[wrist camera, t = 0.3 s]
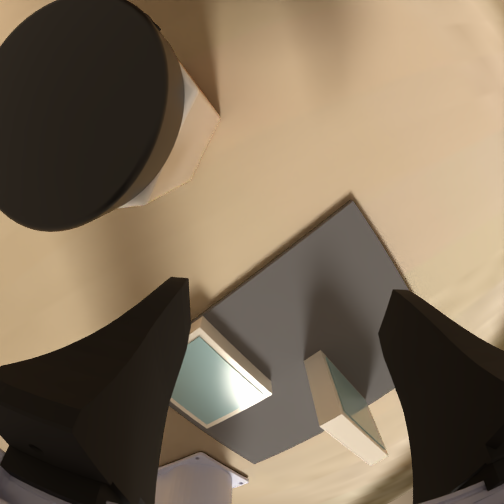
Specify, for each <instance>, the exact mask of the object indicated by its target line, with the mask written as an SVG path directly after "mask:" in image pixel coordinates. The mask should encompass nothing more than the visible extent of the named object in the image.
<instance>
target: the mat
mask: <svg viewBox="0 0 504 504" xmlns="http://www.w3.org/2000/svg"><path fill="white" fill-rule="evenodd" d="M393 289H399V290H408V291H409V289H408V288H407V286H406V284H405V282H404V281H403V279H402V277H401V275H400V274H399V272H398V270H397V269H396V267H395V265H394V264H393V262H392V260H391V259H390V257H389V255H388V254H387V252H386V250H385V249H384V247H383V246H382V244H381V242H380V241H379V239H378V238H377V236H376V235H375V233H374V231H373V230H372V228H371V227H370V225H369V224H368V222H367V221H366V219H365V218H364V216H363V215H362V213H361V212H360V210H359V209H358V207H357V206H356V204H355V203H354V201H352V200H350V201H349V202H348V203H346V204H345V205H344V206H342V207H341V208H340V209H339V210H337V211H336V212H335V213H333V214H332V215H331V216H330V217H328V218H327V219H326V220H324V221H323V222H322V223H321V224H319V225H318V226H317V227H315V228H314V229H313V230H312V231H310V232H309V233H308V234H306V235H305V236H304V237H303V238H301V239H300V240H299V241H297V242H296V243H295V244H293V245H292V246H291V247H290V248H288V249H287V250H286V251H284V252H283V253H282V254H280V255H279V256H278V257H276V258H275V259H274V260H273V261H271V262H270V263H269V264H267V265H266V266H265V267H263V268H262V269H261V270H259V271H258V272H257V273H255V274H254V275H253V276H251V277H250V278H249V279H248V280H246V281H245V282H244V283H242V284H241V285H240V286H238V287H237V288H236V289H234V290H233V291H232V292H230V293H229V294H228V295H226V296H225V297H224V298H222V299H221V300H220V301H218V302H217V303H216V304H214V305H213V306H212V307H210V308H209V309H208V310H206V311H205V312H203V313H202V314H201V315H199V316H198V317H197V318H195V319H194V320H193V321H191V324H192V323H194V322H195V321H196V320H198V319H199V318H200V317H202V316H204V317H205V318H206V320H207V321H208V322H209V323H210V324H211V325H212V326H213V327H215V328H216V329H217V330H218V331H219V332H220V333H221V334H222V335H223V336H224V337H225V338H226V339H227V340H228V341H229V342H230V343H231V344H232V345H233V346H234V347H235V348H236V349H237V350H238V351H239V352H240V353H241V354H242V355H243V356H244V357H245V358H247V359H248V360H249V361H250V362H251V363H252V364H253V365H254V366H255V367H256V368H257V369H258V370H259V371H261V372H262V373H263V374H264V375H265V376H266V377H267V378H268V379H269V380H270V381H271V385H272V395H270V396H268V397H267V398H265V399H263V400H261V401H260V402H258V403H256V404H254V405H252V406H250V407H249V408H247V409H245V410H243V411H241V412H239V413H237V414H235V415H233V416H232V417H230V418H228V419H226V420H224V421H222V422H220V423H218V424H216V425H214V426H212V427H209V428H207V429H206V428H205V427H204V426H202V425H201V424H200V423H198V422H197V421H195V420H194V419H193V418H191V417H190V416H189V415H187V414H186V413H185V412H183V411H182V410H181V409H180V408H178V407H177V406H176V405H174V404H173V403H172V402H171V401H170V403H169V406H170V407H171V408H173V409H174V410H175V411H177V412H178V413H179V414H181V415H182V416H183V417H185V418H186V419H187V420H189V421H190V422H191V423H193V424H194V425H195V426H197V427H198V428H200V429H201V430H202V431H204V432H205V433H207V434H208V435H210V436H211V437H213V438H214V439H215V440H217V441H218V442H220V443H221V444H223V445H224V446H226V447H228V448H229V449H231V450H232V451H234V452H235V453H237V454H239V455H240V456H242V457H243V458H245V459H247V460H248V461H250V462H252V463H253V464H256V463H258V462H261V461H263V460H265V459H268V458H270V457H272V456H274V455H277V454H279V453H281V452H283V451H285V450H288V449H290V448H292V447H294V446H296V445H298V444H300V443H302V442H304V441H306V440H308V439H310V438H312V437H314V436H316V435H318V434H320V433H322V432H323V431H325V430H323V429H322V428H321V427H320V426H319V422H318V418H317V414H316V409H315V405H314V401H313V397H312V393H311V389H310V385H309V380H308V376H307V372H306V368H305V364H304V360H306V359H308V358H309V357H311V356H312V355H314V354H315V353H317V352H318V351H320V350H321V351H322V352H323V353H324V354H325V355H326V357H327V358H328V359H329V360H330V361H331V362H332V363H333V364H334V365H335V367H336V368H337V369H338V370H339V371H340V372H341V373H342V374H343V375H344V376H345V378H346V379H347V380H348V381H349V382H350V383H351V384H352V385H353V386H354V388H355V389H356V390H357V391H358V392H359V393H360V394H361V395H362V396H363V397H364V399H365V400H366V402H367V404H368V405H370V404H371V403H373V402H374V401H376V400H378V399H379V398H381V397H382V396H384V395H385V394H387V393H388V392H390V391H391V390H393V389H394V388H395V386H394V383H393V381H392V378H391V375H390V373H389V370H388V368H387V365H386V362H385V360H384V357H383V353H382V349H381V345H380V340H379V336H378V332H379V329H380V326H381V324H382V321H383V318H384V315H385V312H386V309H387V306H388V303H389V300H390V297H391V294H392V290H393Z"/></svg>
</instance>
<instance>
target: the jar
mask: <svg viewBox="0 0 504 504" xmlns="http://www.w3.org/2000/svg"><path fill="white" fill-rule="evenodd" d="M160 30H161V29H160V28H159V26H158V25H156V24H155V23H154V22H153V21H152V19H151V18H150V17H149V16H148V15H147V14H146V13H144V12H143V11H142V10H141V9H139V8H138V7H137V6H135V5H134V4H132V3H131V2H129V1H127V0H56V1H54V2H52V3H50V4H48V5H46V6H44V7H42V8H41V9H39V10H38V11H36V12H34V13H33V14H32V15H30V16H29V17H28V18H26V19H25V20H24V21H23V22H22V23H21V24H20V25H19V26H18V27H16V29H15V30H14V31H13V32H12V33H11V34H10V35H9V36H8V37H7V38H6V40H5V41H4V42H3V44H2V45H1V46H0V210H1V211H2V212H3V213H4V214H5V215H6V216H8V217H9V218H10V219H12V220H13V221H15V222H16V223H18V224H20V225H22V226H24V227H27V228H30V229H33V230H38V231H47V232H55V231H64V230H70V229H73V228H77V227H79V226H82V225H84V224H87V223H89V222H91V221H93V220H95V219H97V218H99V217H101V216H103V215H105V214H107V213H109V212H111V211H113V210H115V209H118V208H127V207H135V206H144V205H146V204H148V203H150V202H152V201H154V200H155V199H157V198H159V197H161V196H163V195H165V194H167V193H168V192H170V191H172V190H174V189H176V188H178V187H180V186H182V185H184V184H186V183H188V182H190V181H191V179H192V177H193V175H194V172H195V170H196V168H197V166H198V164H199V162H200V160H201V158H202V155H203V153H204V151H205V149H206V147H207V145H208V143H209V141H210V139H211V137H212V135H213V133H214V131H215V129H216V127H217V125H218V123H219V121H220V115H219V114H218V113H217V111H216V110H215V108H214V107H213V106H212V104H211V103H210V101H209V100H208V99H207V97H206V96H205V94H204V93H203V92H202V90H201V89H200V88H199V86H198V85H197V84H196V82H195V81H194V79H193V78H192V77H191V75H190V74H189V73H188V71H187V70H186V69H185V67H184V66H183V65H182V63H181V62H180V61H179V60H178V58H177V57H176V55H175V53H174V51H173V49H172V47H171V46H170V44H169V43H168V42H167V40H166V39H165V38H164V36H163V35H162V34H161V33H160Z"/></svg>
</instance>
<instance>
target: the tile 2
mask: <svg viewBox="0 0 504 504" xmlns="http://www.w3.org/2000/svg"><path fill="white" fill-rule="evenodd" d="M304 364H305V368H306V372H307V376H308V380H309V385H310V389H311V393H312V397H313V401H314V405H315V409H316V414H317V418H318V422H319V426H320V427H321V428H322V429H323V430H325V431H326V432H327V433H328V434H330V435H331V436H332V437H333V438H335V439H336V440H337V441H338V442H340V443H341V444H342V445H343V446H345V447H346V448H347V449H349V450H350V451H351V452H353V453H354V454H355V455H356V456H358V457H359V458H360V459H362V460H363V461H364V462H366V463H367V464H368V465H370V466H372V465H374V464H376V463H378V462H380V461H381V460H383V459H385V458H387V457H388V453H387V451H386V448H385V446H384V443H383V441H382V438H381V436H380V433H379V431H378V428H377V426H376V424H375V421H374V419H373V416H372V414H371V412H370V409H369V407H368V404H367V402H366V400H365V399H364V397H363V396H362V395H361V394H360V393H359V392H358V391H357V390H356V389H355V388H354V386H353V385H352V384H351V383H350V382H349V381H348V380H347V379H346V378H345V376H344V375H343V374H342V373H341V372H340V371H339V370H338V369H337V368H336V367H335V365H334V364H333V363H332V362H331V361H330V360H329V359H328V358H327V357H326V355H325V354H324V353H323V352H322V351H321V350H320V351H318V352H317V353H315V354H314V355H312V356H311V357H309V358H308V359H306V360H304Z"/></svg>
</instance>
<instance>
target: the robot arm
mask: <svg viewBox="0 0 504 504" xmlns="http://www.w3.org/2000/svg"><path fill="white" fill-rule="evenodd" d="M190 329H191V317H190V300H189V279H188V278H178V277H170V278H169V279H168V280H167V281H165V282H164V283H163V284H162V285H160V286H159V287H158V288H157V289H156V290H154V291H153V292H152V293H151V294H150V295H148V296H147V297H146V298H145V299H143V300H142V301H141V302H140V303H138V304H137V305H136V306H134V307H133V308H132V309H130V310H129V311H127V312H126V313H125V314H123V315H122V316H120V317H119V318H118V319H116V320H115V321H113V322H112V323H110V324H108V325H107V326H105V327H103V328H102V329H100V330H98V331H96V332H95V333H93V334H91V335H89V336H87V337H85V338H83V339H81V340H79V341H77V342H74V343H72V344H70V345H68V346H66V347H63V348H61V349H58V350H56V351H53V352H51V353H48V354H45V355H42V356H39V357H35V358H32V359H28V360H24V361H20V362H16V363H12V364H8V365H3V366H1V367H0V435H1V436H2V437H3V439H4V440H5V441H6V442H7V443H8V444H9V447H8V449H7V451H6V453H5V452H4V451H3V450H1V449H0V504H232V488H235V487H238V486H241V485H244V484H247V483H248V482H249V480H248V479H247V478H245V477H244V476H242V475H240V474H238V473H236V472H235V471H233V470H231V469H229V468H228V467H226V466H224V465H222V464H221V463H219V462H217V461H216V460H214V459H213V458H211V457H209V456H208V455H206V454H205V453H202V452H199V453H196V454H193V455H191V456H188V457H186V458H183V459H181V460H178V461H175V462H173V463H170V464H167V465H164V466H162V467H159V468H158V466H159V458H160V451H161V444H162V438H163V432H164V427H165V421H166V416H167V411H168V407H169V403H170V399H171V396H172V393H173V390H174V387H175V384H176V381H177V378H178V375H179V372H180V369H181V366H182V363H183V359H184V356H185V353H186V350H187V345H188V340H189V334H190ZM378 336H379V340H380V345H381V349H382V353H383V357H384V360H385V362H386V365H387V368H388V370H389V373H390V375H391V378H392V381H393V383H394V386H395V389H396V391H397V394H398V397H399V399H400V402H401V405H402V408H403V412H404V416H405V421H406V425H407V430H408V436H409V442H410V449H411V457H412V469H413V504H504V351H503V350H501V349H499V348H497V347H495V346H493V345H491V344H489V343H487V342H485V341H484V340H482V339H480V338H478V337H477V336H475V335H473V334H472V333H470V332H469V331H467V330H466V329H464V328H463V327H461V326H460V325H458V324H457V323H455V322H454V321H452V320H451V319H450V318H448V317H447V316H445V315H444V314H443V313H441V312H440V311H439V310H437V309H436V308H434V307H433V306H432V305H430V304H429V303H427V302H426V301H425V300H423V299H422V298H420V297H419V296H417V295H416V294H414V293H412V292H410V291H408V290H399V289H393V290H392V294H391V297H390V300H389V303H388V306H387V309H386V312H385V315H384V318H383V321H382V324H381V326H380V329H379V332H378Z"/></svg>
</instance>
